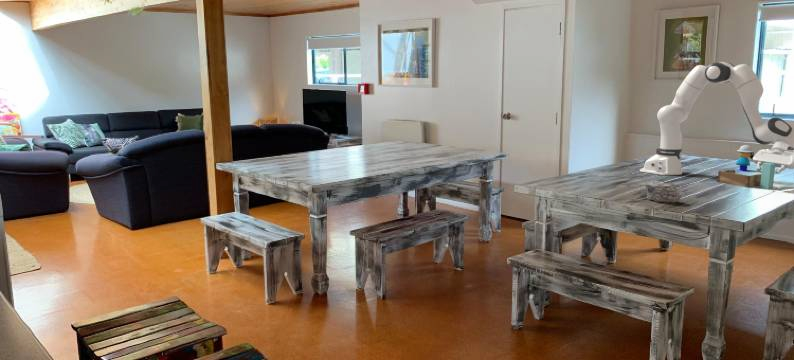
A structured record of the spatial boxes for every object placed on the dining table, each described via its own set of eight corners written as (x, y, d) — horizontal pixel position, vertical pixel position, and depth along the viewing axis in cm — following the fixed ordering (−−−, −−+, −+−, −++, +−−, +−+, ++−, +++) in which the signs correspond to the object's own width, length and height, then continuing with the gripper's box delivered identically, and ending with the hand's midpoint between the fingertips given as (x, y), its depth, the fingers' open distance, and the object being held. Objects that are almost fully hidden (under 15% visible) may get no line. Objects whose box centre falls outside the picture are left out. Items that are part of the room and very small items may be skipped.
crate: (731, 181, 332) (733, 169, 331) (762, 186, 318) (763, 174, 316) (717, 183, 326) (718, 171, 325) (747, 189, 312) (748, 176, 311)
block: (764, 186, 313) (767, 162, 311) (772, 187, 310) (775, 163, 308) (760, 187, 312) (762, 163, 309) (767, 188, 308) (770, 164, 306)
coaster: (755, 189, 310) (755, 187, 310) (759, 187, 317) (759, 185, 317) (773, 191, 305) (773, 189, 305) (777, 189, 312) (777, 187, 311)
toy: (754, 171, 360) (757, 146, 358) (737, 171, 362) (740, 145, 359) (749, 169, 369) (751, 144, 366) (733, 169, 370) (735, 143, 367)
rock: (639, 199, 287) (644, 178, 284) (646, 195, 293) (651, 175, 290) (673, 210, 278) (679, 189, 274) (680, 206, 284) (685, 185, 280)
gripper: (758, 144, 319) (745, 164, 316) (800, 148, 302) (786, 170, 299) (763, 152, 322) (749, 172, 319) (804, 157, 304) (790, 178, 302)
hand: (767, 171), depth 309 cm, fingers open, 8 cm apart
